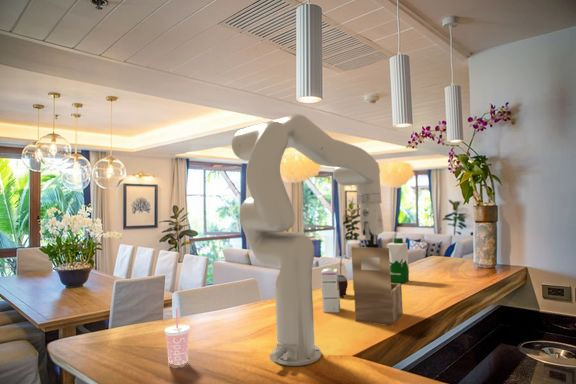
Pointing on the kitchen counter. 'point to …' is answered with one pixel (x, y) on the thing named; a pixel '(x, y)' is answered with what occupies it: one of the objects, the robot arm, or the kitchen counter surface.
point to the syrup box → (330, 290)
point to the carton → (379, 306)
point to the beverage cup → (177, 342)
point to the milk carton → (398, 261)
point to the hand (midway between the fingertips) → (373, 256)
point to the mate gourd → (342, 282)
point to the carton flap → (371, 269)
